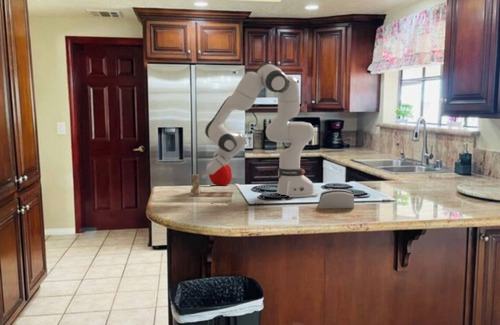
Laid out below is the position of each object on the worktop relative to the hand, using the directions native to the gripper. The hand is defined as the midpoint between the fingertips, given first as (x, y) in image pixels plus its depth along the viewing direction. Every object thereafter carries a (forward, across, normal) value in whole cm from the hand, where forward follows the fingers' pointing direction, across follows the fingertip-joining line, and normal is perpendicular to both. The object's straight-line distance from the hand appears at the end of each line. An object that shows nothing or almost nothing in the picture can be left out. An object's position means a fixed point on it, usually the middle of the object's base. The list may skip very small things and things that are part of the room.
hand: (202, 176), depth 224 cm
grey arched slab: (-36, +32, +52) cm, 71 cm away
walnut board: (+4, +2, +11) cm, 12 cm away
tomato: (0, -31, +15) cm, 34 cm away
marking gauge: (+9, -1, +4) cm, 10 cm away
